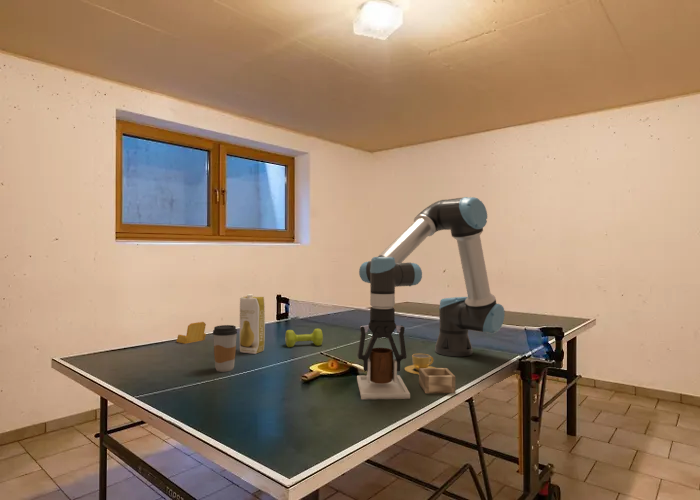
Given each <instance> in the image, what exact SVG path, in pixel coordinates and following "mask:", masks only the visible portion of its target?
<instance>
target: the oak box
mask: <svg viewBox="0 0 700 500" xmlns="http://www.w3.org/2000/svg"><path fill="white" fill-rule="evenodd" d="M418 372H419V374H418V385H419V386H420V388H421V389H422V390H423V392H424V394H456V376H455V375H454V374H453V373H452V372H451V371H450V370H449V368H447V367H435V368H419V371H418Z"/></svg>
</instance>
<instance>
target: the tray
mask: <svg viewBox="0 0 700 500" xmlns="http://www.w3.org/2000/svg"><path fill="white" fill-rule="evenodd" d="M356 382H357V387H358V390H359V396H360V400H410V399H411V393H410V391H409V390H408V388H407V386H406V384H405V383H404V380H403V379H402V377H401V375H400V374H399V375H398V374H397V383H394V381H393V380H392V381H391V382H389V383H374V382H371V381H370V383H368V382H367V375H357V376H356Z"/></svg>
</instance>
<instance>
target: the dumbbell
mask: <svg viewBox="0 0 700 500" xmlns="http://www.w3.org/2000/svg"><path fill="white" fill-rule="evenodd" d="M284 334H285V336H284V337H285V339H284V340H285V345H286V347H287V348H293V347H295V345H296V343H299V342H312V343H313V344H314V345H315V346H317V347H318V346H322V345H323V340H324V335H323V330H322V329H321V328H314V329H313V331H312V332H311V333H310V334H309V333H305V334H296V333H295V331H294V330H293V329H287V330H286V331H285V333H284Z"/></svg>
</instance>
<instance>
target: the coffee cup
mask: <svg viewBox="0 0 700 500" xmlns="http://www.w3.org/2000/svg"><path fill="white" fill-rule="evenodd" d="M236 326H237V325H232V324H230V325H229V324H224V325H222V324H221V325H217V326H214V327H213V328H214V329H213V331H212V335H213V352H214V353H213V354H214V367H215V370H216V372H220V373H221V372H224V373H225V372H230V371H233V370H234V368H235V359H236V352H237V351H236V349H237V348H236V347H237V346H236V345H237V335H238V330H237V327H236Z"/></svg>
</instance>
